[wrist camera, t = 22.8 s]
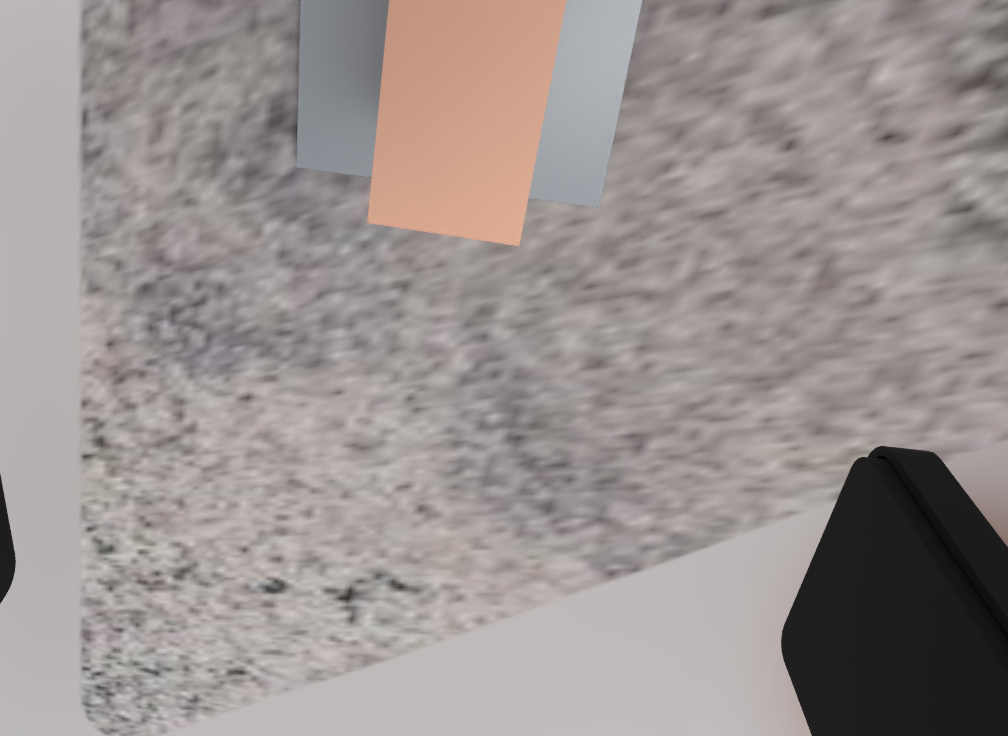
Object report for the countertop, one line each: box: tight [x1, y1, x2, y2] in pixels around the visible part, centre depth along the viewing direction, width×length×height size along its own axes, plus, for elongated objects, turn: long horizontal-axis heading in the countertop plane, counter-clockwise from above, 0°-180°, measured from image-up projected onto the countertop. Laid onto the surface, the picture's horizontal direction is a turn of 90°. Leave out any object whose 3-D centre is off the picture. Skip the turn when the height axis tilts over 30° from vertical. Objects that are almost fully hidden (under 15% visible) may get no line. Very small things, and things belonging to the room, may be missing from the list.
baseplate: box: [296, 0, 642, 207], centre depth 37 cm, size 14×14×1 cm
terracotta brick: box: [367, 0, 567, 246], centre depth 29 cm, size 9×5×6 cm, turn 170°
